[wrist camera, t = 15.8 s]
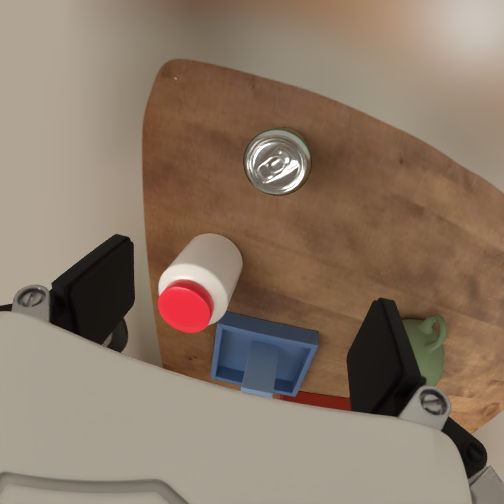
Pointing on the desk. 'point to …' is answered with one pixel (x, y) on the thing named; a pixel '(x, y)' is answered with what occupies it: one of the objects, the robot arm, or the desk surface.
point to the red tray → (319, 400)
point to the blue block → (260, 369)
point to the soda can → (277, 161)
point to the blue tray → (252, 329)
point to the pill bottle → (199, 283)
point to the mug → (427, 346)
